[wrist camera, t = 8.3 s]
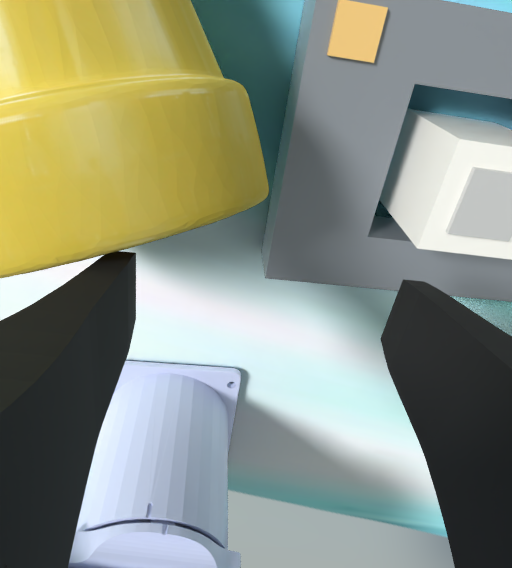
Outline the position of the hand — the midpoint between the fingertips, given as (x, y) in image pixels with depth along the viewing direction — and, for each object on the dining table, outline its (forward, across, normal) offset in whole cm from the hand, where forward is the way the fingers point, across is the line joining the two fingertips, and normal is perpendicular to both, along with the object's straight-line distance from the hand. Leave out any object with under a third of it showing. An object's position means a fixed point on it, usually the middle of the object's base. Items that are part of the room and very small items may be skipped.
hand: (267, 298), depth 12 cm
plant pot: (+6, +8, -9) cm, 13 cm away
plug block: (+10, -8, -2) cm, 13 cm away
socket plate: (+9, -8, -2) cm, 13 cm away
